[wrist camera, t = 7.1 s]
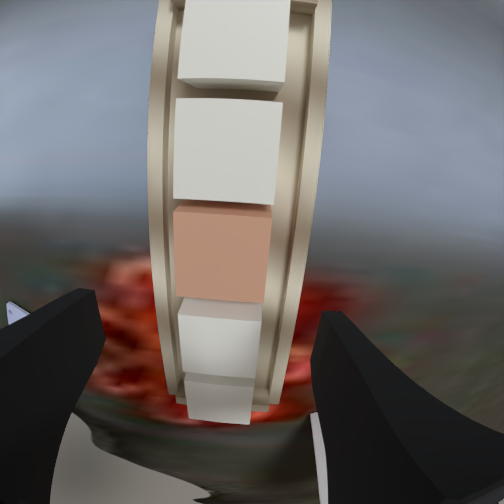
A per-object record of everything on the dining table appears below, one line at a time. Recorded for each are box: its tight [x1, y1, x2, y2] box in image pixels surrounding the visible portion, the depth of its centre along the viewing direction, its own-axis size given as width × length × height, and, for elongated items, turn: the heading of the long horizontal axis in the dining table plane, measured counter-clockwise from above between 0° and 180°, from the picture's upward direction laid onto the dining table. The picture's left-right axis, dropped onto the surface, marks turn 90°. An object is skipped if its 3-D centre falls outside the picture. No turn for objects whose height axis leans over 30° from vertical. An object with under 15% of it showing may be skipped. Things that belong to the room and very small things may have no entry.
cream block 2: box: [173, 98, 283, 205], centre depth 13 cm, size 4×4×4 cm
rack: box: [147, 0, 332, 412], centre depth 16 cm, size 26×8×3 cm, turn 176°
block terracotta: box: [173, 199, 272, 303], centre depth 15 cm, size 4×4×4 cm
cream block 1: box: [177, 0, 290, 92], centre depth 11 cm, size 4×4×4 cm
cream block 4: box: [184, 372, 254, 424], centre depth 19 cm, size 4×4×4 cm
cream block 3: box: [178, 297, 262, 378], centre depth 17 cm, size 4×4×4 cm
